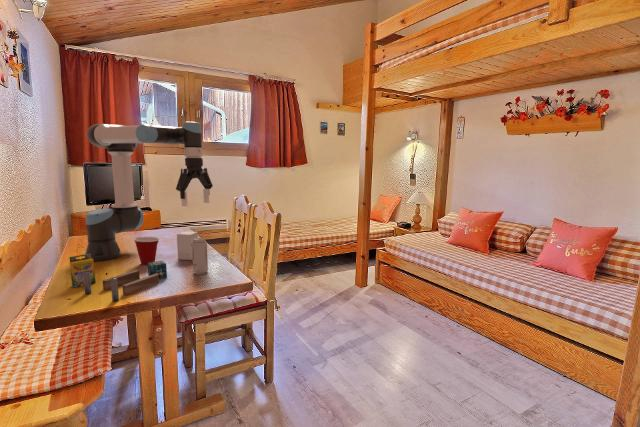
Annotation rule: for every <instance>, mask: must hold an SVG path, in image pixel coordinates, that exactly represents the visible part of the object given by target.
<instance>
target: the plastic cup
mask: <svg viewBox="0 0 640 427" xmlns="http://www.w3.org/2000/svg"><path fill="white" fill-rule="evenodd" d="M159 240H160V237H155V236H141V237H134V238H133V241H134V243H135V246H136V250H137V253H138V257H139V261H140V263H141V265H143V266H144V265H145V266H148V263H150V262H151V263H152V262H156V255H157V249H158V244H159Z"/></svg>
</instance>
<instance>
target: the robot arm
mask: <svg viewBox="0 0 640 427" xmlns="http://www.w3.org/2000/svg"><path fill="white" fill-rule="evenodd" d="M202 133H203V131H202V125H201V123H200V122H199V121H198V122H197V121H183V123H182V126H180V127H179V126H167V125H155V124H154V125H153V124H149V123H147V124H146V123H144V124H139V125H124V124H111V123H109V124H108V123H95V124H93V125H90V127H88V129H87V131H86V137H87V140H88V142H89V143H90V144H92V145H93V146H94V147H96V148H99V149H107V154H109V155H110V156H111V165H112V178H113V190H114V202H115V203H114V204H113V205H112V207H111V208H108V207H107V208H99V209H94V210H91V211H89V212H87V214H85V225H86V226H85V227H86V236H87V245H86V248H85V249H86V250H85V253H84V255H85V254H91V258H92V259H93V260H94V262H102V261H109V260H113V259H116V258H119V257H121V256H122V252H121V249H120V247H119V244H118V242H117V240H116V239H117V238H116V234H120V233H125V232H132V231H134V230H137V229H139V228H141V227H142V225H143V223H144V219H145V217H144V212H143V210H142V209H141V208H139V205H138V204H137V203H136V202H135V196H134V181H133V169H132V155H133V154H134V153H135V152H134V150H135V149H136V148H137V147H138V145H139V144H165V145H166V144H167V145H184V146H183V147H184V157H185V158H184V162H185V163H184V164H185V167H186V168H180V175H179V178H178V180H177V185H176V187H175V190H176V191H178V192H179V195H180V199H181V206H182V207H189V206H188V204H189V203H188V191H186V190H187V189H188V187H189V184H190V183H191V181H192V180H193V179H198V181H199V182H200V183H201V185H202V186H203V189H202V190H203V191H202V192H203V203H204V204H206V203H207V204H209V203H210V190H211V189H212V188H213V183H212V180H211V178H210V175H209V173H208V172H209V171H208V168H207V167H203V166H204V161H203V160H204V159H203V140H202V138H203V135H202Z"/></svg>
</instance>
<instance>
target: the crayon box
mask: <svg viewBox="0 0 640 427" xmlns="http://www.w3.org/2000/svg"><path fill="white" fill-rule="evenodd" d="M80 257H81V258H80ZM94 262H95V261H94V260H93V259H92V258H91V254H85V253H84V254H80V255H74V256H69V268H70V276H71V277H70V278H71V287H73V288H74V287H75V288H79V287H78V286H80V287H84V280H83V272H89V273H90V283H91V285H93V284H94V285H95V284H96V273H95V263H94Z"/></svg>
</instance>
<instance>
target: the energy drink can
mask: <svg viewBox="0 0 640 427" xmlns="http://www.w3.org/2000/svg"><path fill="white" fill-rule="evenodd" d="M192 256H193V259H192V271H193V273H194V275H196V276H197V275H198V276H199V275H205V274H207V273H208V271H209V267H208V266H209V264H208V262H209V261H208V241H206V238H205V237H198V238H194V239H193V242H192Z"/></svg>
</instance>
